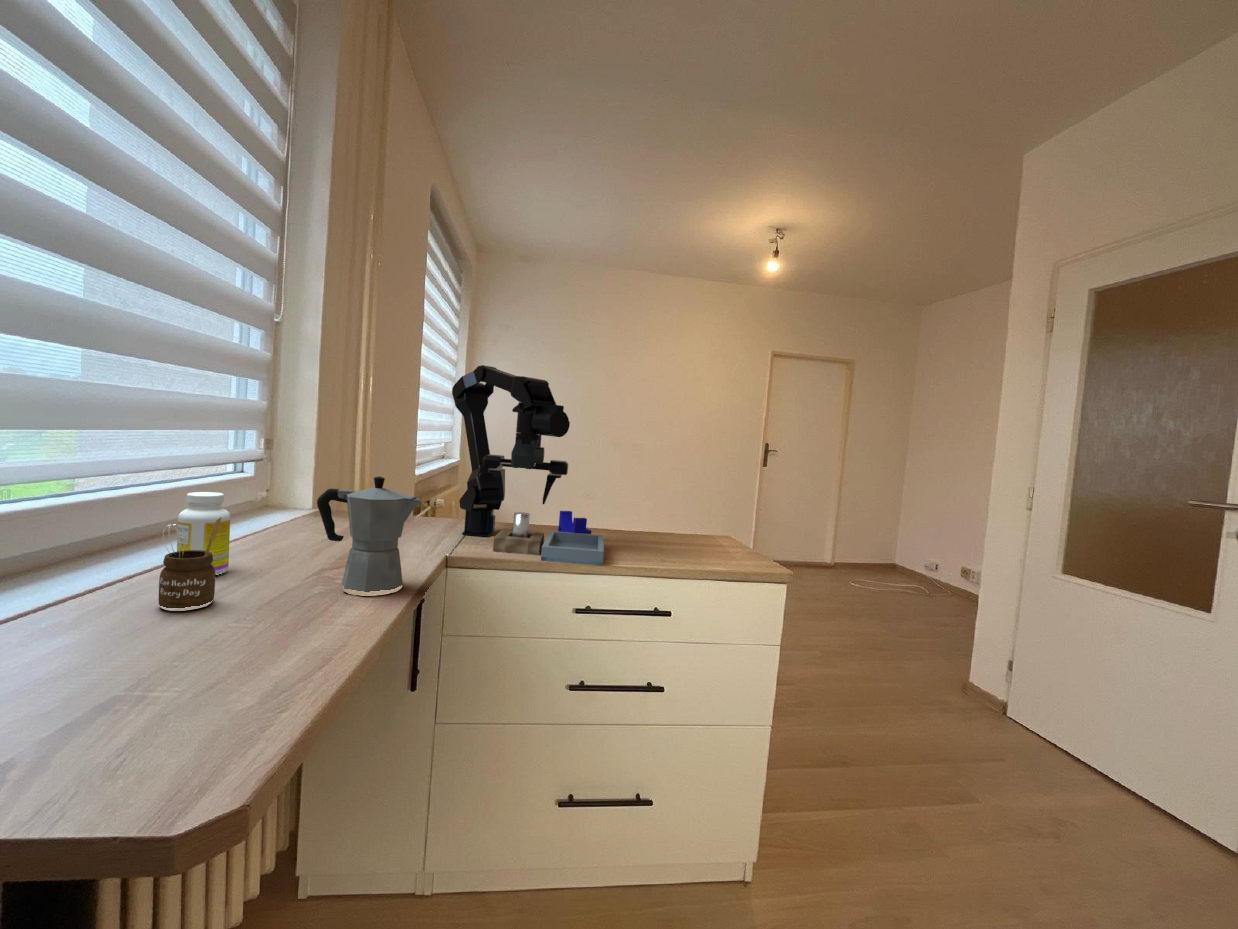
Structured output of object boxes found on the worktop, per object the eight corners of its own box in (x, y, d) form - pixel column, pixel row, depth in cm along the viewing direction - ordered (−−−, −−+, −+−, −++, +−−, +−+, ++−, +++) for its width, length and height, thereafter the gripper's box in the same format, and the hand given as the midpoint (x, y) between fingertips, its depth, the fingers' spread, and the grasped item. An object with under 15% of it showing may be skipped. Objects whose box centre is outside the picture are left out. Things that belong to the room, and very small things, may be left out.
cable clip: (590, 542, 140) (592, 518, 139) (573, 542, 138) (575, 518, 137) (573, 532, 150) (575, 511, 150) (558, 532, 149) (559, 510, 148)
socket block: (492, 551, 120) (493, 537, 120) (501, 541, 130) (502, 529, 130) (538, 554, 120) (539, 541, 120) (543, 545, 130) (544, 532, 130)
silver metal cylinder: (510, 549, 123) (513, 514, 123) (512, 546, 127) (515, 511, 126) (525, 550, 123) (528, 515, 123) (527, 547, 127) (530, 513, 126)
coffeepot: (420, 581, 93) (427, 476, 92) (410, 599, 84) (418, 482, 83) (322, 578, 91) (329, 469, 90) (300, 596, 81) (307, 475, 80)
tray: (540, 560, 115) (541, 546, 115) (548, 543, 133) (549, 530, 133) (602, 565, 116) (603, 551, 116) (602, 547, 134) (603, 535, 134)
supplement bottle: (234, 568, 92) (238, 492, 91) (219, 579, 85) (223, 497, 85) (186, 568, 90) (190, 490, 89) (167, 579, 83) (170, 495, 82)
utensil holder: (168, 599, 75) (172, 512, 75) (222, 598, 78) (227, 514, 77) (149, 613, 70) (152, 520, 69) (208, 612, 72) (212, 522, 71)
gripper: (479, 430, 115) (473, 503, 116) (568, 438, 116) (562, 511, 117) (489, 430, 126) (484, 497, 127) (570, 437, 127) (565, 504, 128)
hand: (523, 502), depth 125 cm, fingers open, 9 cm apart
